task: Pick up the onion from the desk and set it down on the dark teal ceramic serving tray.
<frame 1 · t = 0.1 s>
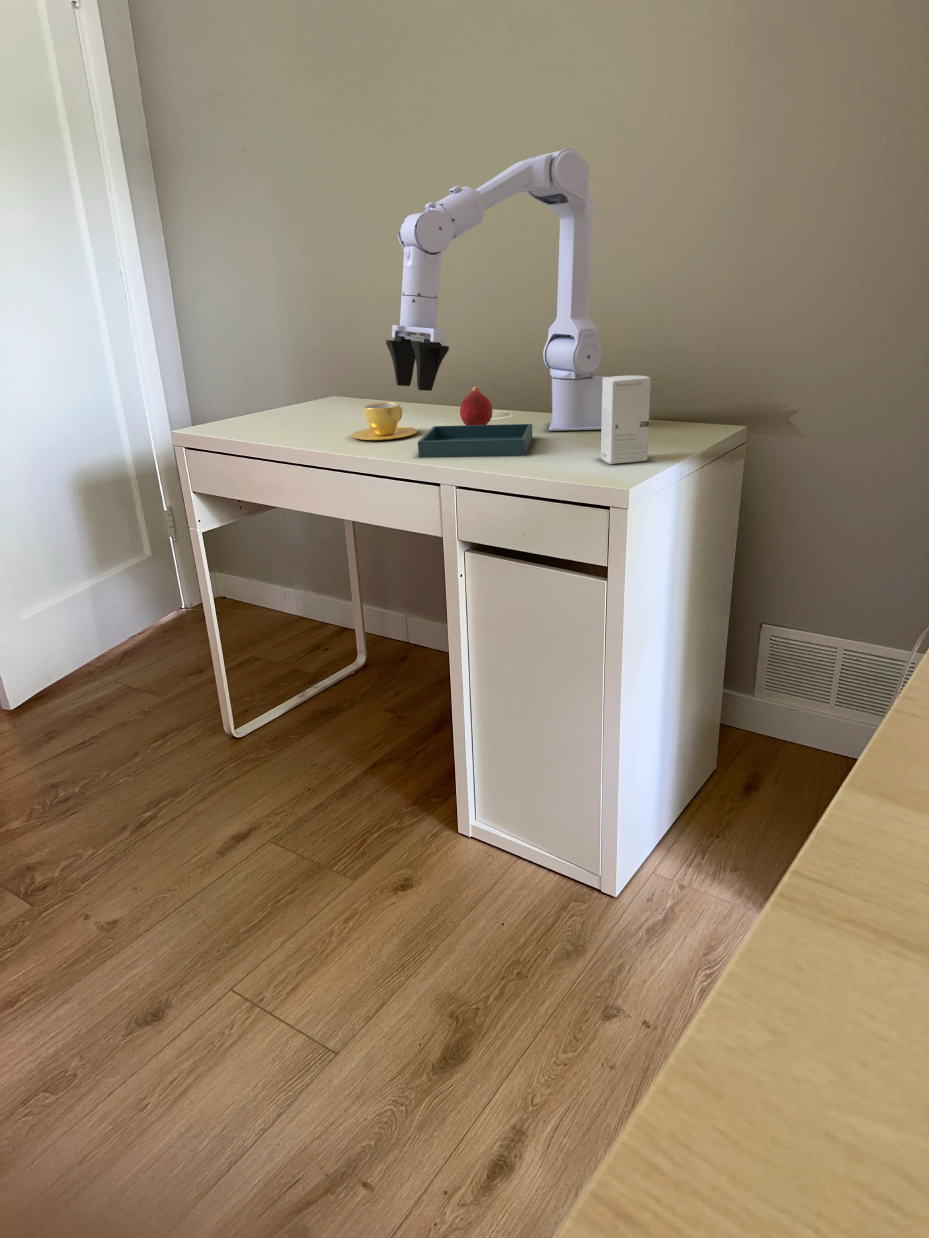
hand: (413, 388, 136), 11 cm above the table, tool pointing down, fingers open, 7 cm apart
cup: (384, 436, 156), on the table
cosmetic box: (624, 461, 128), on the table
tray: (477, 447, 142), on the table
onion: (477, 433, 154), on the table
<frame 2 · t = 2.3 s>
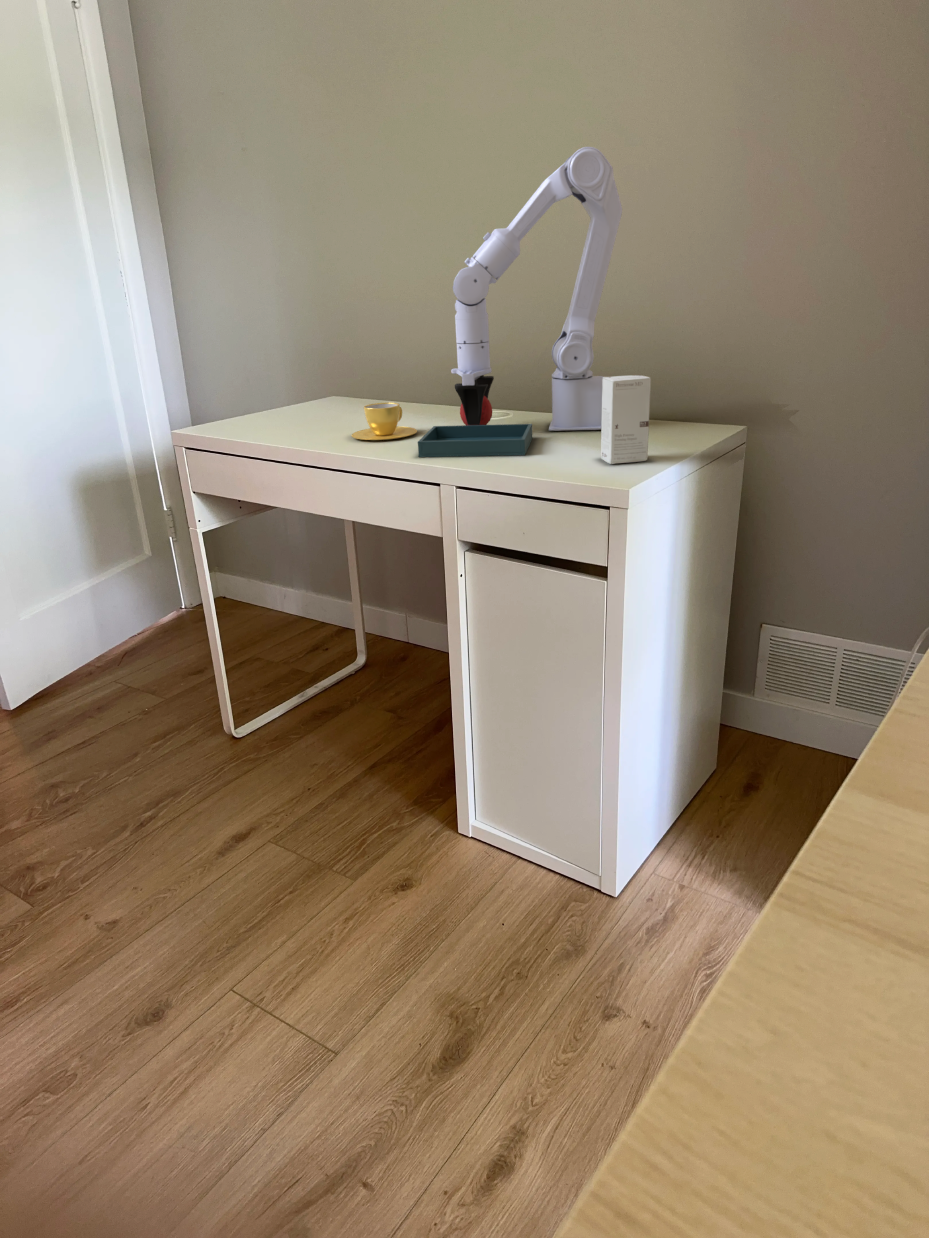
hand: (476, 421, 153), 2 cm above the table, tool pointing down, fingers closed on onion, 6 cm apart
onion: (477, 433, 154), on the table, touching gripper
everything else where it was.
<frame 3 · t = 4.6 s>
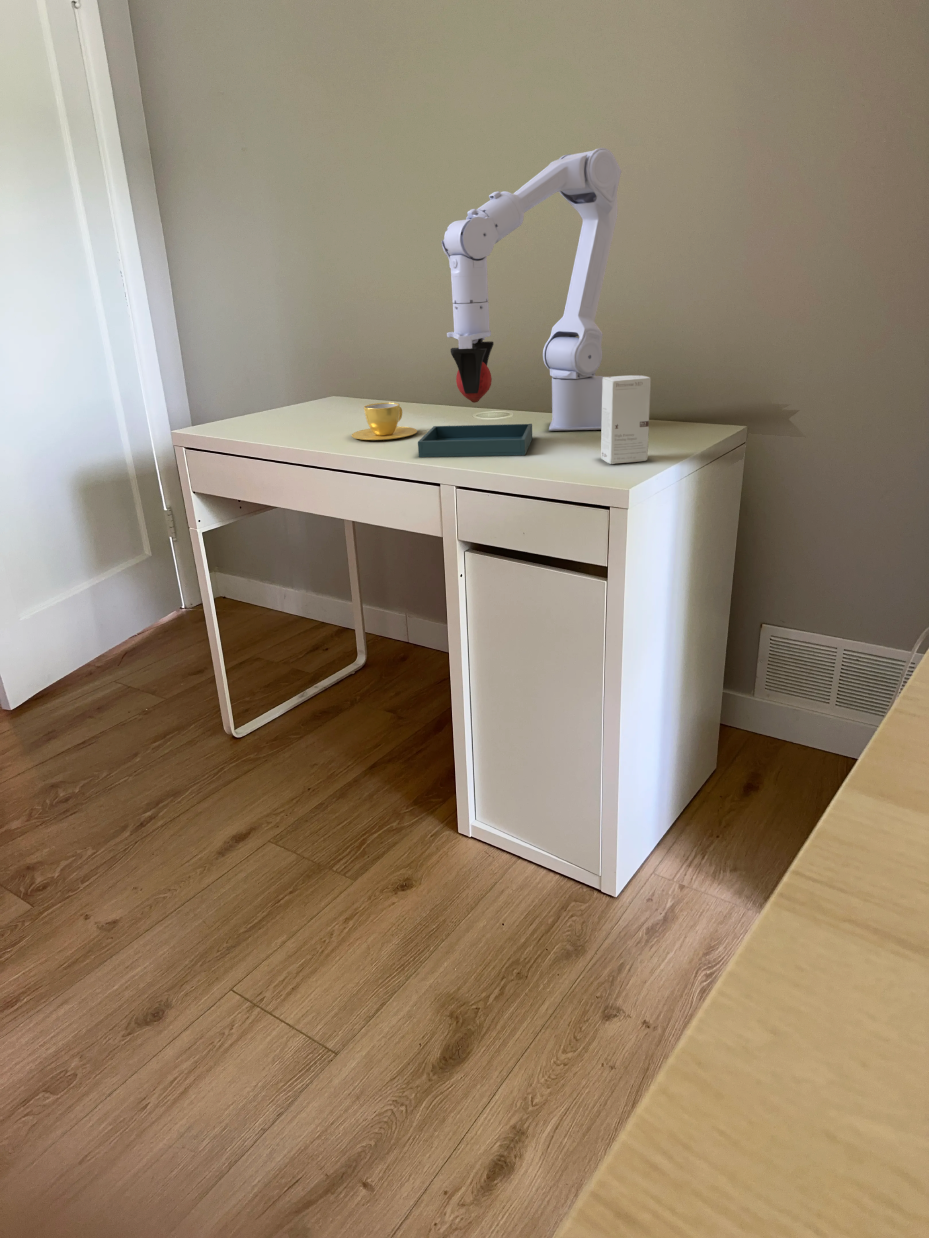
hand: (474, 390, 140), 9 cm above the table, tool pointing down, fingers closed on onion, 6 cm apart
onion: (474, 403, 141), point 7 cm above the table, touching gripper
everything else where it was.
when the fingers open (2 cm above the table, at t = 7.0 s): onion stays where it is, resting on tray.
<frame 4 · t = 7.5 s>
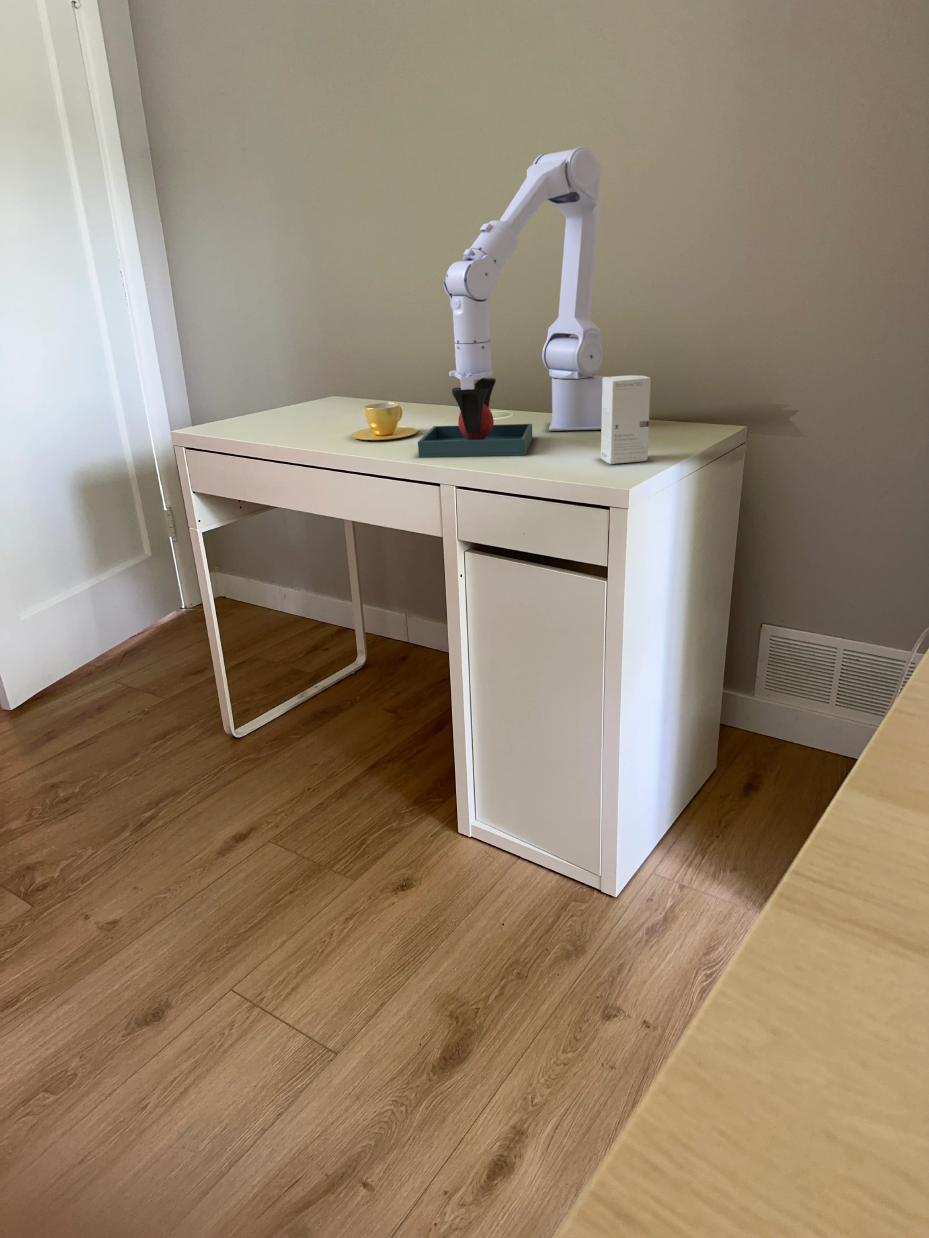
hand: (476, 428, 141), 3 cm above the table, tool pointing down, fingers open, 7 cm apart
onion: (477, 445, 142), resting on tray
everything else where it was.
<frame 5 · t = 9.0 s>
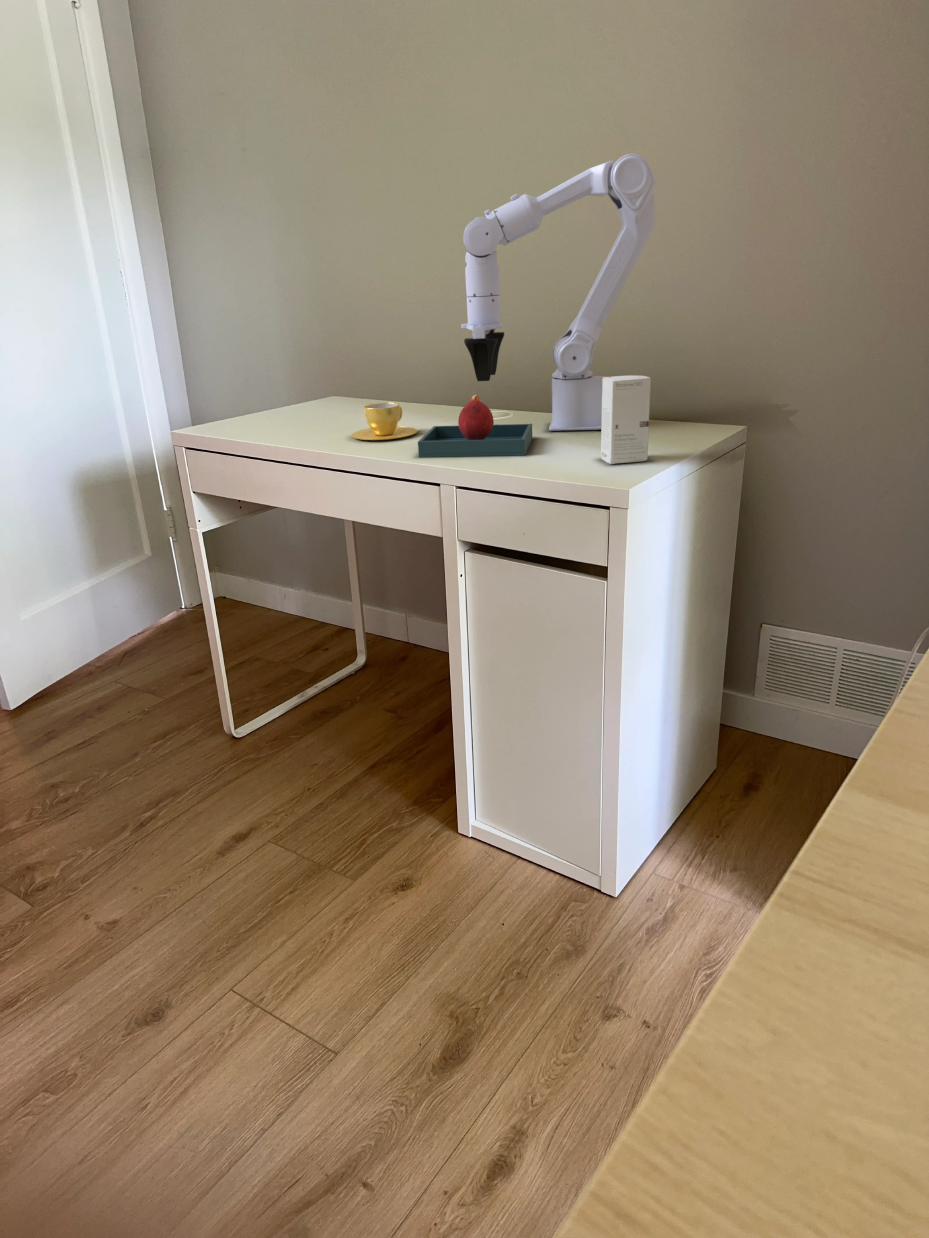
hand: (486, 377, 151), 9 cm above the table, tool pointing down, fingers open, 7 cm apart
nothing on the table moved.
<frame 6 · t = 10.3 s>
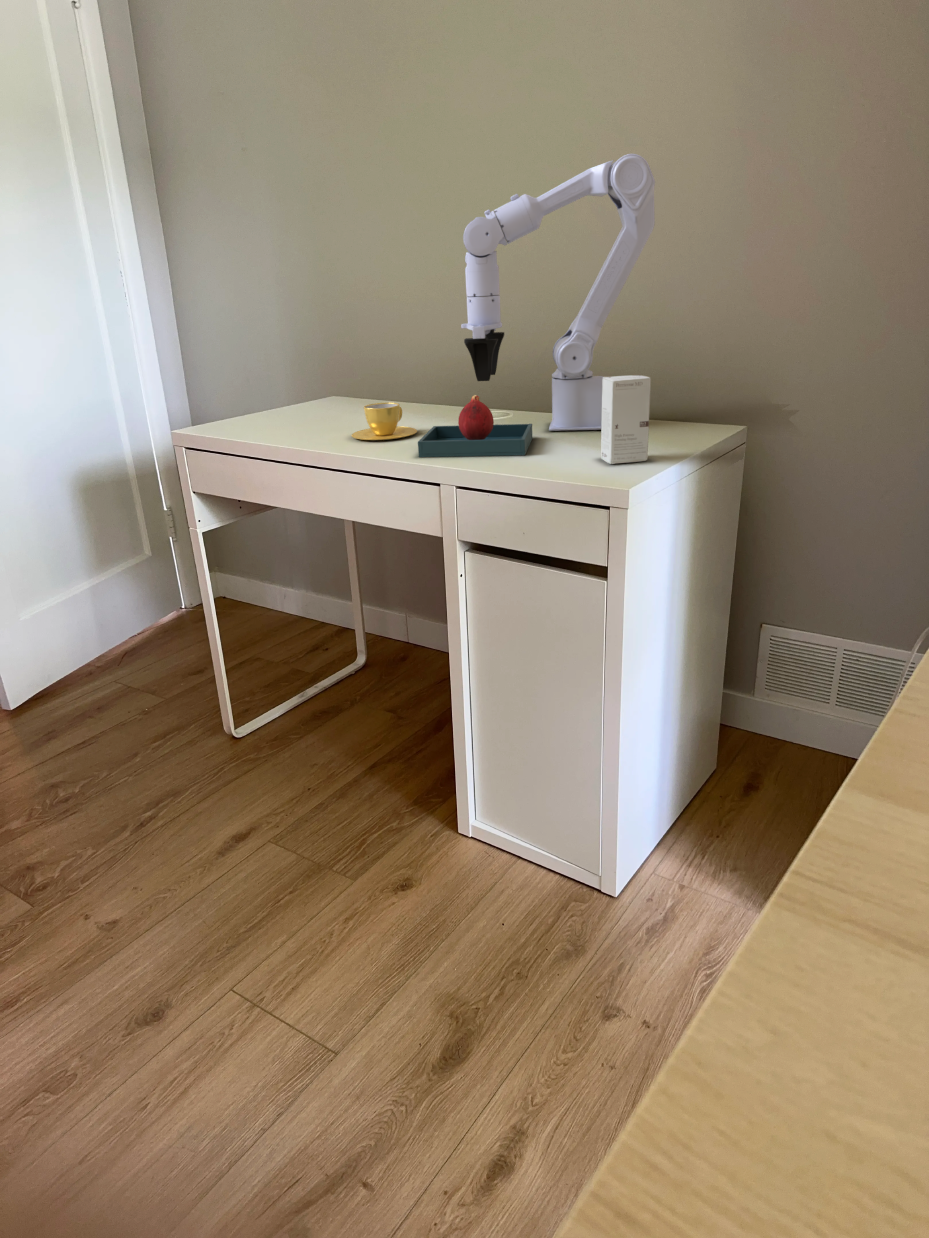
hand: (486, 377, 151), 9 cm above the table, tool pointing down, fingers open, 7 cm apart
nothing on the table moved.
at the end: onion inside the target area in the tray (0.1 cm from its centre), point 0.3 cm above the tray's base; the gripper is holding nothing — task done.
